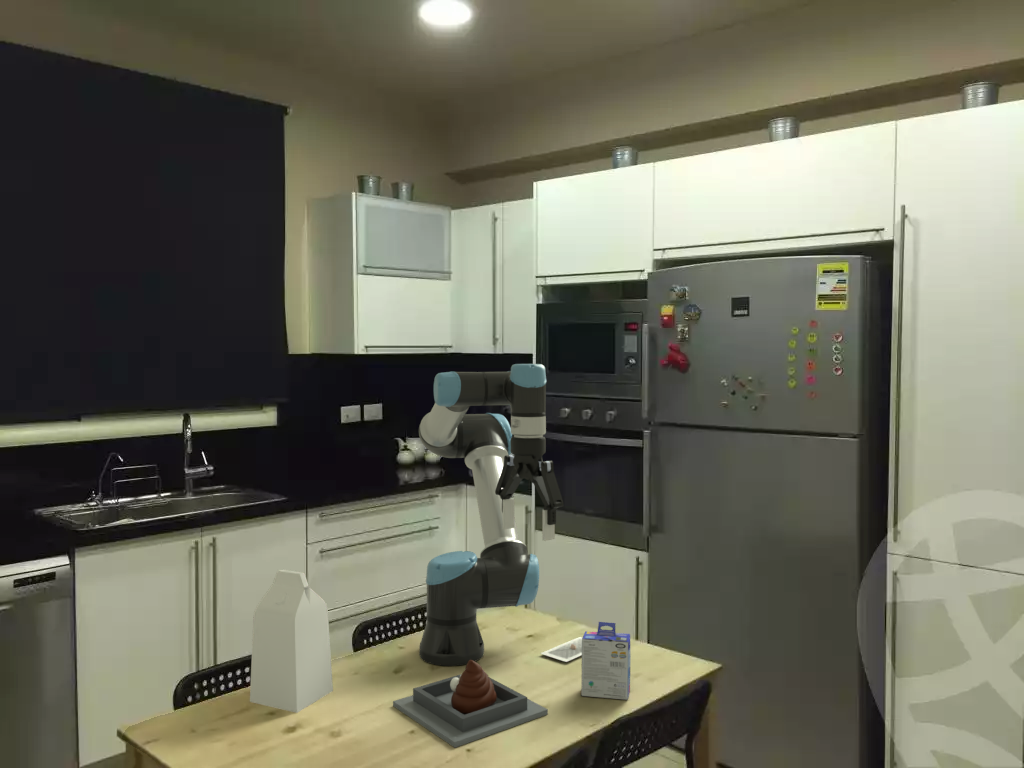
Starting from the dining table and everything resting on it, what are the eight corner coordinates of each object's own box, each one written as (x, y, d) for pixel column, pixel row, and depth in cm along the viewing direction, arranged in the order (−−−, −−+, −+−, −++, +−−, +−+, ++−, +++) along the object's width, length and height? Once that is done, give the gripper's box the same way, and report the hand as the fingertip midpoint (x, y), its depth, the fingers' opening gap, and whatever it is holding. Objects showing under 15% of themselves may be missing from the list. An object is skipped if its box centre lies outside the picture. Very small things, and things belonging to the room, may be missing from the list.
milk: (332, 690, 174) (331, 568, 173) (296, 712, 164) (295, 582, 162) (287, 681, 179) (286, 561, 178) (249, 701, 169) (248, 575, 167)
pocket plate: (393, 706, 167) (392, 688, 166) (481, 678, 180) (481, 663, 180) (454, 747, 149) (454, 728, 149) (547, 714, 163) (547, 696, 163)
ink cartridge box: (630, 690, 175) (631, 622, 174) (629, 701, 169) (629, 631, 168) (583, 686, 177) (584, 619, 176) (580, 696, 171) (581, 627, 170)
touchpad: (540, 658, 194) (540, 648, 194) (579, 641, 205) (579, 632, 205) (566, 666, 188) (566, 657, 188) (605, 648, 199) (605, 640, 199)
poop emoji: (476, 719, 158) (476, 671, 158) (440, 709, 163) (440, 662, 162) (505, 700, 167) (505, 655, 166) (470, 691, 171) (470, 646, 171)
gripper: (479, 432, 185) (479, 526, 186) (553, 442, 166) (552, 547, 167) (506, 430, 190) (506, 521, 191) (580, 439, 171) (580, 542, 172)
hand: (527, 534), depth 179 cm, fingers open, 13 cm apart
